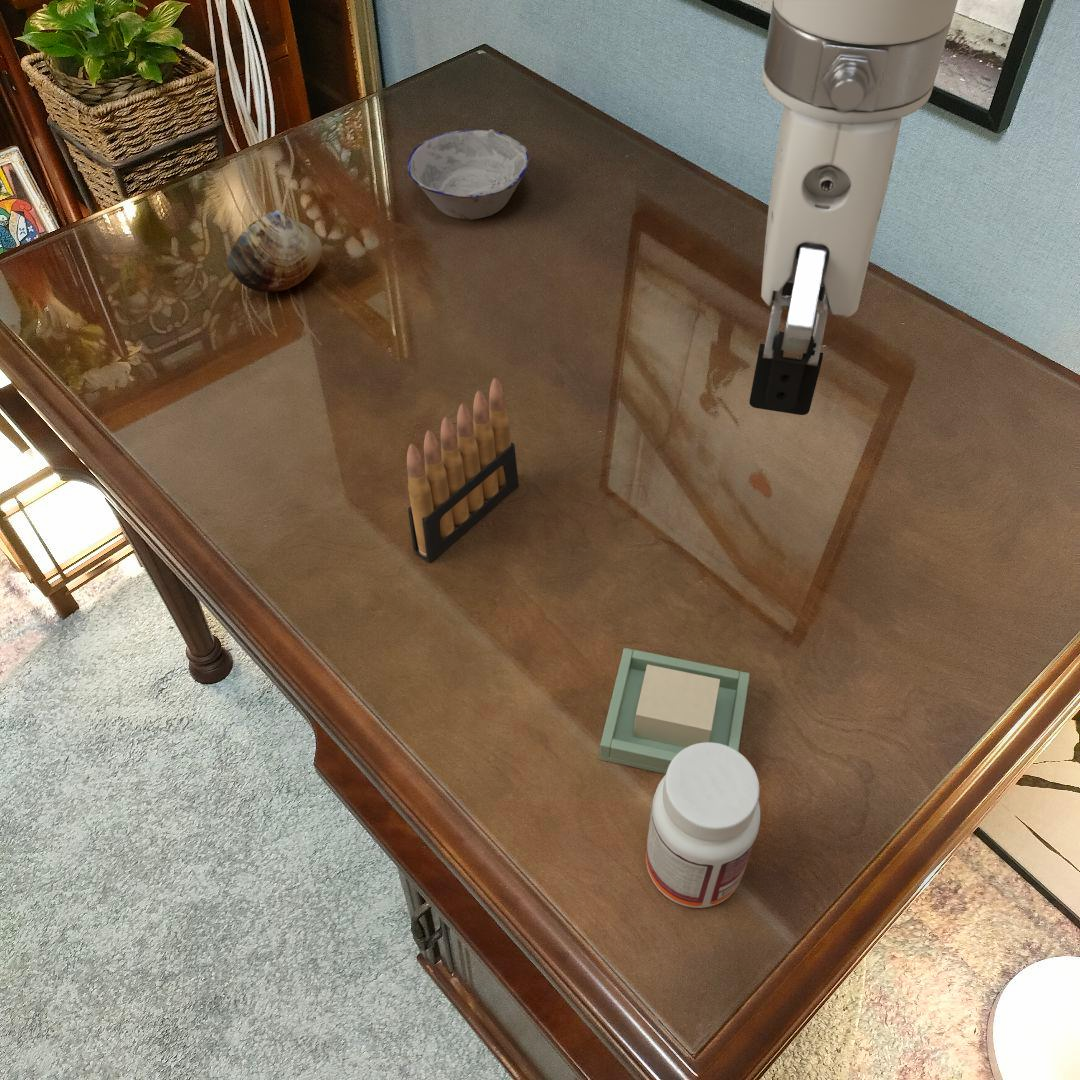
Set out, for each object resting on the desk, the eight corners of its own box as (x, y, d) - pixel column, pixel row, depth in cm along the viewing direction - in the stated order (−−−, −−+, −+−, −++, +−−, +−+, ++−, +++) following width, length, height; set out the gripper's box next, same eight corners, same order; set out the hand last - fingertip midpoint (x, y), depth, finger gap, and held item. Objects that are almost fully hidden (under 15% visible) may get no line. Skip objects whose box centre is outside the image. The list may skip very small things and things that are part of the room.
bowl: (421, 165, 116) (416, 125, 112) (534, 167, 115) (533, 127, 111) (403, 232, 108) (398, 191, 104) (524, 235, 107) (523, 194, 103)
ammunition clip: (429, 564, 80) (411, 457, 70) (413, 552, 81) (392, 445, 71) (519, 485, 85) (513, 376, 76) (502, 474, 86) (494, 365, 76)
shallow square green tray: (746, 688, 72) (750, 672, 71) (730, 789, 67) (735, 774, 66) (622, 662, 74) (623, 647, 72) (599, 759, 69) (599, 745, 67)
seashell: (312, 255, 106) (297, 185, 99) (338, 282, 103) (324, 212, 96) (228, 289, 102) (206, 219, 96) (252, 318, 99) (231, 248, 93)
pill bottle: (733, 813, 66) (758, 728, 58) (750, 908, 62) (780, 833, 54) (638, 819, 66) (649, 735, 57) (650, 914, 62) (664, 840, 54)
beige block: (715, 701, 71) (720, 679, 69) (706, 752, 68) (711, 730, 66) (644, 686, 72) (647, 663, 69) (633, 736, 69) (635, 714, 67)
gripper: (938, 163, 39) (844, 469, 52) (942, -26, 49) (863, 269, 63) (741, 141, 40) (698, 445, 54) (786, -39, 51) (741, 253, 64)
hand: (787, 350), depth 58 cm, fingers open, 9 cm apart
